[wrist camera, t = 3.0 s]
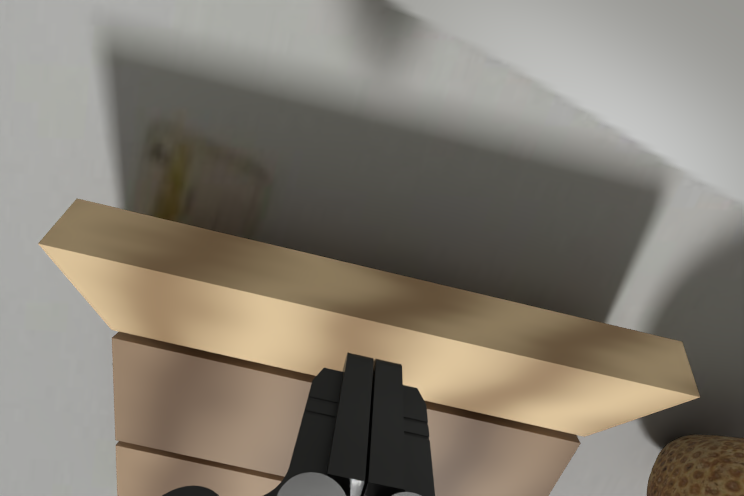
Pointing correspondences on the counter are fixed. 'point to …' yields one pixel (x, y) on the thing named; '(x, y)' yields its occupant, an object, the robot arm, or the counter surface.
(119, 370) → the laid floor
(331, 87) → the counter surface
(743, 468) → the natural sponge
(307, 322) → the board
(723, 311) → the counter surface
